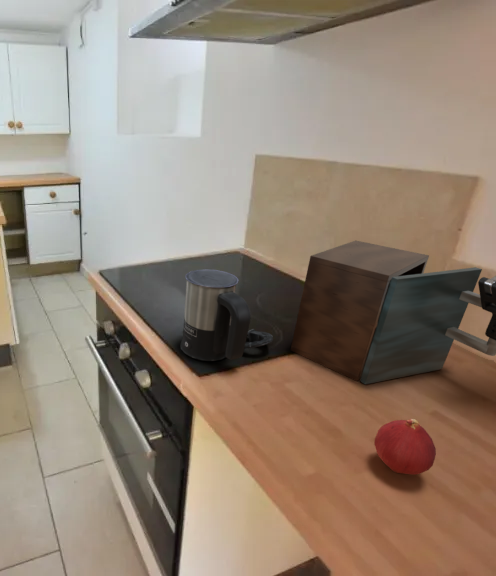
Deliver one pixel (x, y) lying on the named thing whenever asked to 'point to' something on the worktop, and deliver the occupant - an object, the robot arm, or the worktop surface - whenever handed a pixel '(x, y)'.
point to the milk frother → (217, 318)
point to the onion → (405, 447)
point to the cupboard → (347, 302)
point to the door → (422, 324)
